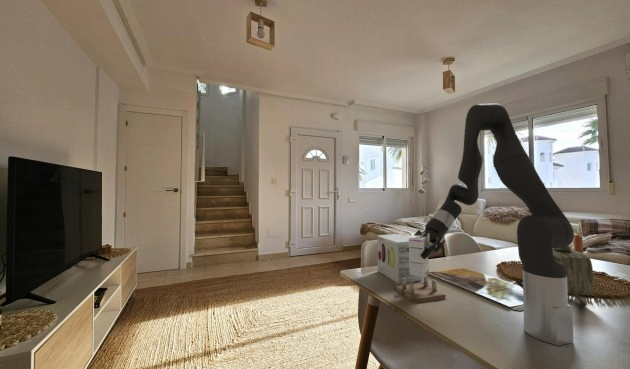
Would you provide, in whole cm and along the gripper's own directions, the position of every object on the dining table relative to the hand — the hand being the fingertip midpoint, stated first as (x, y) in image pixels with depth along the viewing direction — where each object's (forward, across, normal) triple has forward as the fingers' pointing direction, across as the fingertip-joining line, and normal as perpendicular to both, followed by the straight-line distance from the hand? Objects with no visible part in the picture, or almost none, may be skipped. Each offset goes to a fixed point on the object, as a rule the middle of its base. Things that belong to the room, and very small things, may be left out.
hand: (415, 254), depth 98 cm
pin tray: (+10, 0, +12) cm, 15 cm away
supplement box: (+7, -20, +15) cm, 26 cm away
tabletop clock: (-23, +18, +45) cm, 54 cm away
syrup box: (+5, 0, +7) cm, 8 cm away
